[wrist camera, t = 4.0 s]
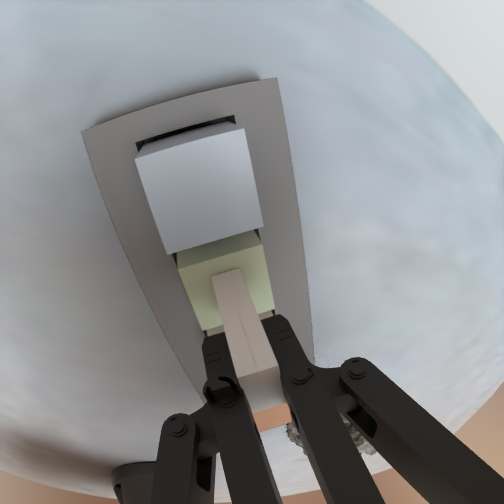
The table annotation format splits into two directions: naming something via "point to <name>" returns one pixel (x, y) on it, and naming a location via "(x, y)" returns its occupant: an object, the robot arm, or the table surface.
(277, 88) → the grey socket tray
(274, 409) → the key terracotta
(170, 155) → the key slate
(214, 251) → the key sage
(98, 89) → the table surface
